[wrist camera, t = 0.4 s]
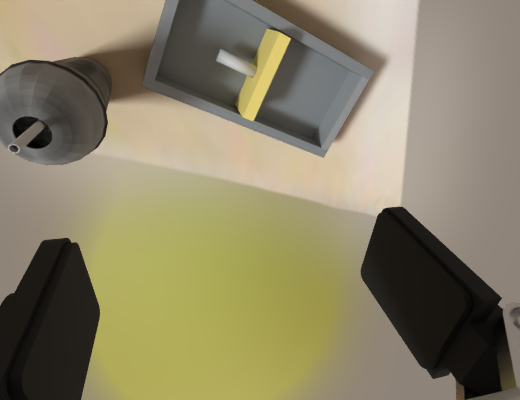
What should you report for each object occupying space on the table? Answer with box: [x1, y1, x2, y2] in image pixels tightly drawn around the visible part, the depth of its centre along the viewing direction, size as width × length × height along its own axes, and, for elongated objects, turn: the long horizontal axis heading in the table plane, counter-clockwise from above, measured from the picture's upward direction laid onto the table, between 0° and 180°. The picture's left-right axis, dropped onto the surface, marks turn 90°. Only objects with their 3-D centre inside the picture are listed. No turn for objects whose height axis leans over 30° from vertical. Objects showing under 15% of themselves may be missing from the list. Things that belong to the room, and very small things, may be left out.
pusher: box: [216, 29, 291, 121], centre depth 31 cm, size 8×5×5 cm, turn 154°
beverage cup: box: [0, 57, 112, 165], centre depth 24 cm, size 7×7×20 cm
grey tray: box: [141, 0, 374, 158], centre depth 34 cm, size 11×22×4 cm, turn 64°
